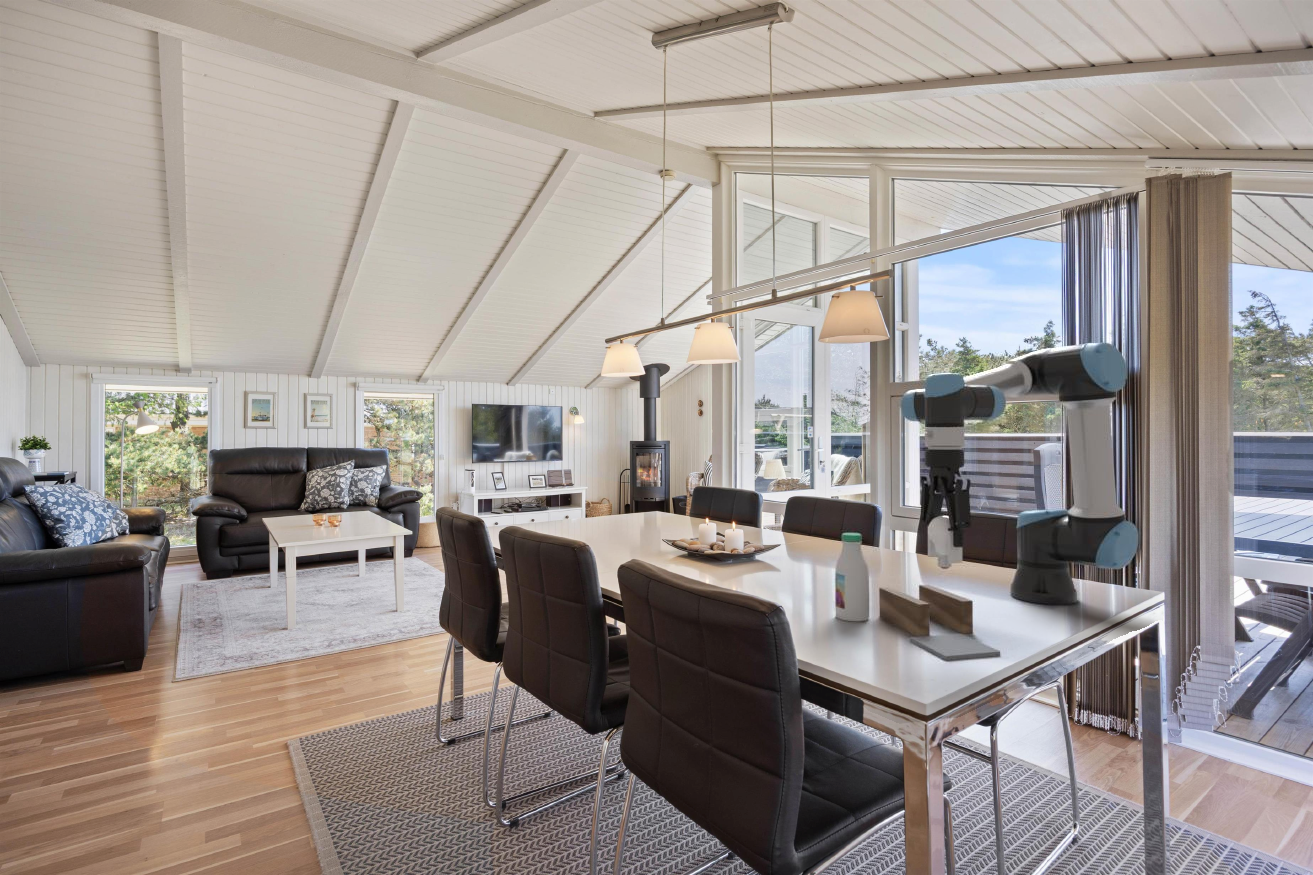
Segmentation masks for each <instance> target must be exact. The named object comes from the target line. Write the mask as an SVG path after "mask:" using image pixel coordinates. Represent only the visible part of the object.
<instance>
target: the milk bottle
mask: <svg viewBox="0 0 1313 875" xmlns="http://www.w3.org/2000/svg"><path fill="white" fill-rule="evenodd" d="M862 540H863V536H862V534H861V533H858V532H844V533H842V534H841V543H842V547H841V552H840V554H839V556H838V558H837V560H836V563H835V564H836V565H835V570H834V571H835V573H834V574H835V575H834V576H835V578H834V580H835V581H834V582H835V583H834V584H835V585H834V587H835V588H834V590H835V594H834V595H835V597H834V598H835V600H834V601H835V604H834V605H835V608H834V609H835V616H836V618H837V619H839V620H842V621H846V622H865V621H867V620H869V618H870V572H869V566H868V563H867V560H866V558H865V555H864V553H863V550H862V545H861V544H862V542H863V541H862Z"/></svg>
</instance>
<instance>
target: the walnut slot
mask: <svg viewBox="0 0 1313 875" xmlns="http://www.w3.org/2000/svg"><path fill="white" fill-rule="evenodd" d="M878 592H879V594H878V596H879V597H878V598H879V603H878V604H879V618H881V619H883V620H884V621H887V622H889V623H890V624H892V625H894V626H896V627H898V628H900V629H903V630H904V631H906V632H909V633H910V634H912V635H914V636H915V637H922V636H931V634H930V632H931V629H930V626H931V625H930V620H931V621H934V622H936V623H938V624H941V625H942V626H944V627H947V628H948V629H949V628H950V629H952V630H954V631H956V632H958V633H961V634H963V635H965V634H973V633H974V628H973V627H974V621H973V620H974V617H973V615H974V614H973V613H974V612H973V610H974V609H973V607H974V606H973V605H974V604H973V600H971V599H969V598H966V597H963V596H961V595H958V594H955V593H952V592H950V591H947V590H944V589H942V588H939V587H937V586H934V585H931V584H919V585H918V598H916V597H914V596H912V595H910V594H907V593H905V592H902V591H899V590H896V589H894V588H893V587H890V586H884V587H879V590H878Z"/></svg>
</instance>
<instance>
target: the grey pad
mask: <svg viewBox="0 0 1313 875" xmlns="http://www.w3.org/2000/svg"><path fill="white" fill-rule="evenodd" d="M909 642H911V643H912V644H914V645H916V646H918V647H920V648H921V649H924V650H925V651H927V652H929V653H931V654H932V655H935V656H936V657H939V658H941V659H942V660H945V661H954V660H956V661H957V660H966V659H975V658H976V659H977V658H988V657H996V656H997V657H998V656H1001V651H1000V650H998V649H996V648H994V647H992V646H989V645H987V644H985V643H982V642H980V641H979V640H976V639H974V638H971V636H967V635H965V634H962V633H960V632H958V633H948V634H939V635H938V634H936V635H930V636H922V637H918V636H914V637H913V636H911V637H909Z"/></svg>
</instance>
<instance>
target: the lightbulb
mask: <svg viewBox="0 0 1313 875" xmlns="http://www.w3.org/2000/svg"><path fill="white" fill-rule="evenodd" d="M948 528H951V527H950V522H949V517H948V515H940V516H938V517H936V518H934V519H933V520H932V521H931V522H930V524H929V526H928V534H929V537H930V539H931V540H932V542H933V543H934V545H935V548H936V552H937V556H938V557H937V566H938V567H940V569H943V570H946V569H949V568H951V567H952V564H953V563H948ZM928 534H927V535H928Z"/></svg>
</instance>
